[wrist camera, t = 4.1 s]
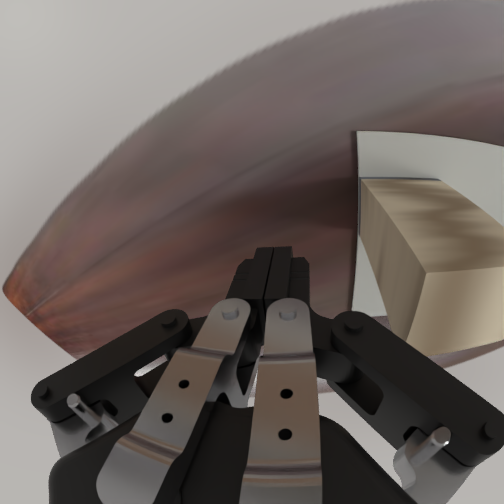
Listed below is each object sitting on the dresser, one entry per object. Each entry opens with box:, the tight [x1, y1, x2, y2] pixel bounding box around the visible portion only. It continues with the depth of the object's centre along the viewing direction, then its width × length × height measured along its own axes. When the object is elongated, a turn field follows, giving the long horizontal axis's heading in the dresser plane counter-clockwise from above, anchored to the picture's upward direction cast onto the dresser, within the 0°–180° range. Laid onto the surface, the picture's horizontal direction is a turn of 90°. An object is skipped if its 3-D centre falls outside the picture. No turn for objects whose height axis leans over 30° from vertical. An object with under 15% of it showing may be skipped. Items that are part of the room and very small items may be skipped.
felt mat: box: [351, 131, 504, 317], centre depth 16 cm, size 18×15×1 cm
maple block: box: [358, 177, 504, 356], centre depth 12 cm, size 6×4×11 cm, turn 98°
